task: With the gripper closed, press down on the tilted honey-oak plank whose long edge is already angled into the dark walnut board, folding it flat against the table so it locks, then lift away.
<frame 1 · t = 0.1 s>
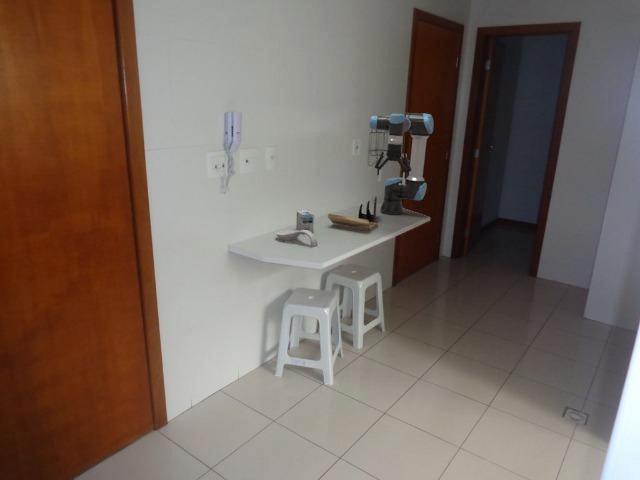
hand: (391, 182, 256), 28 cm above the counter, tool pointing down, fingers open, 13 cm apart
walnut board: (356, 225, 276), on the counter
light bulb box: (304, 231, 258), on the counter
white curved piece: (296, 242, 239), on the counter
oak plank: (350, 221, 266), point 4 cm above the counter, hinge at 35.0°
letter holder: (366, 219, 291), on the counter
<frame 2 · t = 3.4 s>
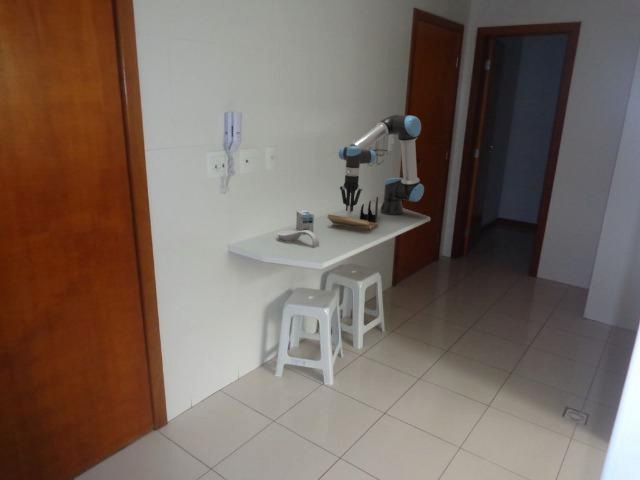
hand: (349, 216, 263), 7 cm above the counter, tool pointing down, fingers closed
oak plank: (349, 222, 266), point 4 cm above the counter, hinge at 32.3°, touching gripper
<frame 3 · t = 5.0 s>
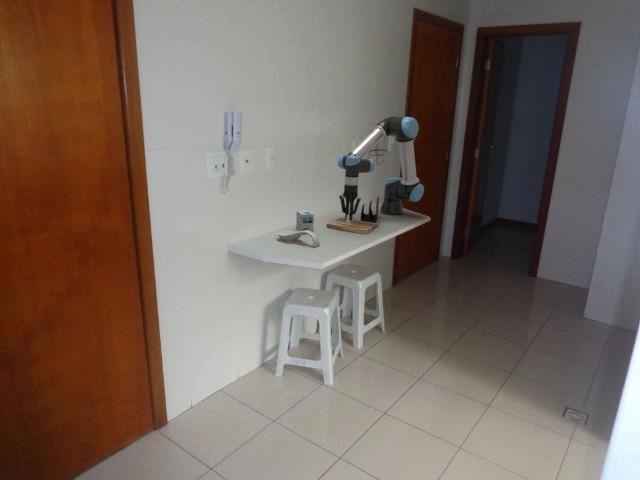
hand: (348, 225, 265), 2 cm above the counter, tool pointing down, fingers closed
oak plank: (349, 227, 266), point 1 cm above the counter, hinge at 1.2°, touching gripper
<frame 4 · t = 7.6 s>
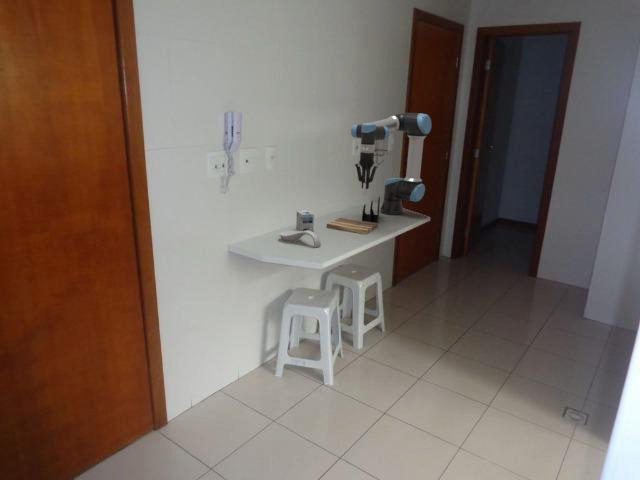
hand: (364, 194, 264), 20 cm above the counter, tool pointing down, fingers closed
oak plank: (349, 227, 266), point 1 cm above the counter, hinge at 1.1°
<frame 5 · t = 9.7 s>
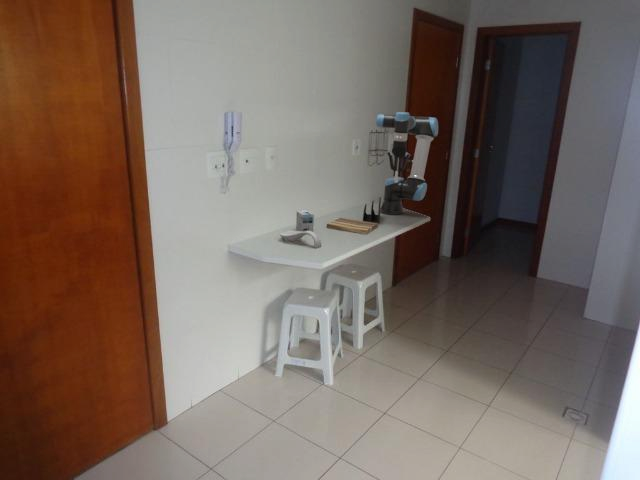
hand: (396, 182, 269), 26 cm above the counter, tool pointing down, fingers closed
at the end: oak plank at +1° (first picture: +35°) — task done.
